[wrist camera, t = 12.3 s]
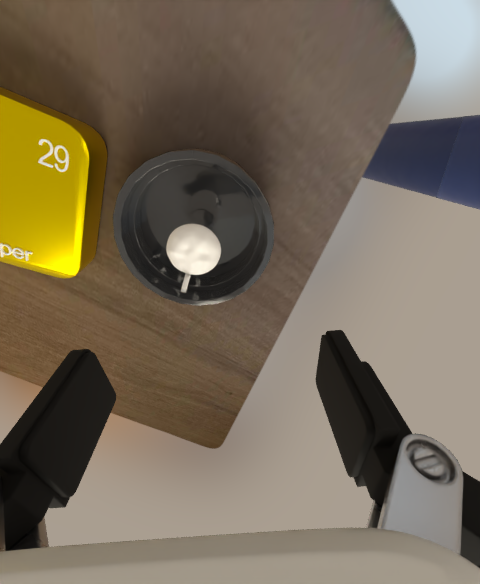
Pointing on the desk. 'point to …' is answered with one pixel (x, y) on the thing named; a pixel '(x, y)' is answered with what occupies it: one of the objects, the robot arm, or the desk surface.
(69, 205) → the element tile
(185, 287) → the milkshake
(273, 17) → the desk surface
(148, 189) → the pan
